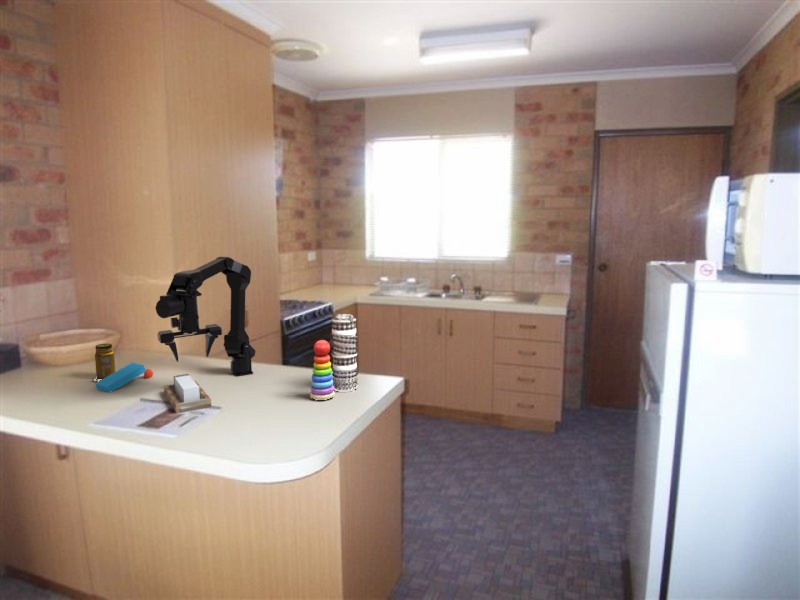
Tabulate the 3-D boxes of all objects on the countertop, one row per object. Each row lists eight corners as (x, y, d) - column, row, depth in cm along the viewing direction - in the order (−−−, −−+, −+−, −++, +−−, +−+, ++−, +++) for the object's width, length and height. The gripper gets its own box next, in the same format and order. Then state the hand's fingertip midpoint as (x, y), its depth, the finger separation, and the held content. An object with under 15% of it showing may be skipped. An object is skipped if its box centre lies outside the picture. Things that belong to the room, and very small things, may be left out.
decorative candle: (325, 388, 183) (323, 315, 179) (346, 382, 189) (345, 311, 185) (343, 395, 176) (342, 319, 172) (364, 388, 183) (363, 314, 179)
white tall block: (200, 402, 167) (199, 386, 166) (184, 405, 164) (183, 389, 164) (189, 388, 180) (188, 373, 179) (174, 390, 178) (173, 375, 177)
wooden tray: (164, 392, 179) (163, 385, 178) (195, 387, 184) (195, 380, 184) (176, 413, 161) (175, 405, 160) (211, 406, 166) (211, 398, 166)
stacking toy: (305, 399, 172) (303, 341, 169) (318, 392, 179) (316, 336, 176) (327, 403, 169) (325, 344, 166) (339, 395, 176) (338, 338, 173)
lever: (114, 404, 181) (159, 376, 195) (106, 387, 179) (153, 360, 193) (102, 401, 185) (147, 374, 199) (94, 383, 182) (140, 357, 196)
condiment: (119, 374, 199) (116, 342, 197) (112, 381, 191) (110, 347, 189) (97, 375, 198) (94, 343, 196) (90, 382, 190) (86, 349, 188)
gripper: (211, 304, 186) (215, 348, 188) (152, 311, 176) (157, 358, 179) (220, 309, 176) (224, 356, 179) (158, 317, 166) (163, 366, 169)
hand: (192, 359), depth 177 cm, fingers open, 9 cm apart
